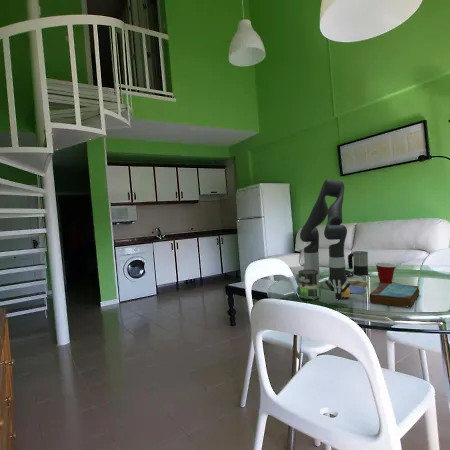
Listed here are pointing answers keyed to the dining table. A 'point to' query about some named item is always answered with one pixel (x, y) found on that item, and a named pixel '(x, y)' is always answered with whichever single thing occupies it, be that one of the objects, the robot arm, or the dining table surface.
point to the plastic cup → (385, 272)
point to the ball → (346, 292)
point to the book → (395, 294)
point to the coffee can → (309, 282)
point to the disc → (356, 289)
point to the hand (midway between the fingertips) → (338, 299)
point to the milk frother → (358, 263)
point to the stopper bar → (358, 282)
